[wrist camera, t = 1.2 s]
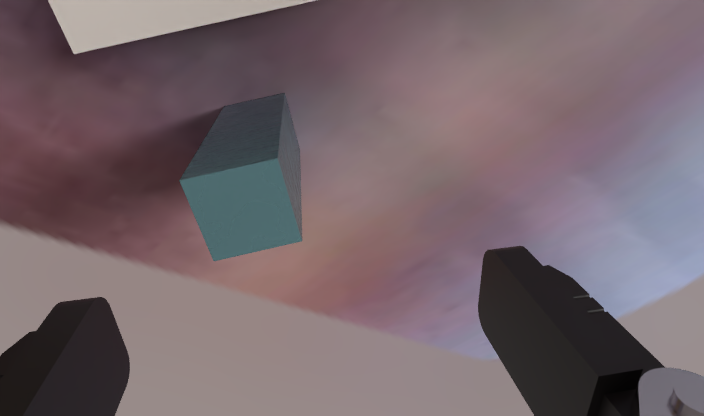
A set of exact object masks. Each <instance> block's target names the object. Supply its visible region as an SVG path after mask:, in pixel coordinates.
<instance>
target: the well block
mask: <svg viewBox="0 0 704 416" xmlns="http://www.w3.org/2000/svg"><path fill="white" fill-rule="evenodd" d="M312 1H316V0H48V2H49V4H50V6H51V8H52V10H53V12H54V14H55V16H56V18H57V20H58V22H59V24H60V26H61V29H62V31H63V33H64V35H65V37H66V39H67V41H68V43H69V45H70V47H71V49H72V51H73V53H74V54H77V53H81V52H86V51H90V50H95V49H100V48H104V47H109V46H113V45H118V44H122V43H127V42H131V41H136V40H140V39H145V38H149V37H154V36H158V35H163V34H167V33H172V32H176V31H181V30H185V29H190V28H194V27H199V26H203V25H208V24H212V23H217V22H221V21H226V20H230V19H235V18H239V17H244V16H248V15H253V14H258V13H262V12H267V11H271V10H276V9H280V8H285V7H289V6H294V5H298V4H303V3H307V2H312Z"/></svg>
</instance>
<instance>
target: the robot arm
mask: <svg viewBox="0 0 704 416" xmlns="http://www.w3.org/2000/svg"><path fill="white" fill-rule="evenodd" d="M478 312H479V319H480V323H481V326H482V329H483V331H484V333H485V335H486V336H487V338H488V340H489V341H490V343H491V345H492V346H493V348H494V350H495V351H496V353H497V355H498V356H499V358H500V360H501V361H502V363H503V364H504V366H505V368H506V369H507V371H508V373H509V374H510V376H511V378H512V379H513V381H514V383H515V384H516V386H517V388H518V389H519V391H520V392H521V394H522V396H523V397H524V399H525V401H526V402H527V404H528V406H529V407H530V409H531V410H532V412H533V414H534V416H704V377H703V376H701V375H698V374H696V373H693V372H689V371H686V370H681V369H676V368H665V367H664V366H663V365H662V364H661V363H660V362H659V361H658V360H657V359H656V358H655V357H654V356H653V355H652V354H651V353H650V352H649V351H648V350H647V349H645V348H644V347H643V346H642V345H641V344H640V343H639V342H638V341H637V340H636V339H635V338H634V337H633V336H632V335H631V334H630V333H629V332H628V331H627V330H626V329H625V328H624V327H623V326H622V325H621V324H620V323H619V322H617V321H616V320H615V319H614V318H613V317H612V316H611V315H610V314H609V313H608V312H604V308H603V307H602V306H601V305H600V304H599V303H598V302H597V301H596V300H595V299H594V298H590V297H589V294H588V293H587V292H586V291H585V290H584V289H583V288H582V287H581V286H580V285H579V284H578V283H577V282H576V281H575V280H574V279H573V278H571V277H570V276H568V275H566V274H564V273H562V272H560V271H559V270H557V269H555V268H553V267H551V266H549V265H547V266H542V265H541V264H540V262H539V261H538V260H537V259H536V258H535V257H534V256H533V255H532V254H531V253H530V252H529V251H528V250H527V249H526V248H525V247H523V246H516V247H508V248H500V249H492V250H487V251H486V252H485V254H484V258H483V265H482V275H481V284H480V293H479V302H478ZM129 371H130V363H129V356H128V353H127V349H126V347H125V344H124V341H123V339H122V336H121V334H120V331H119V329H118V326H117V323H116V321H115V318H114V315H113V313H112V310H111V308H110V305H109V303H108V302H107V300H106V299H105V298H102V297H97V298H89V299H81V300H73V301H66V302H60V303H58V304H57V305H56V306H55V307H54V308H53V309H52V310H51V312H50V313H49V314H48V316H47V317H46V319H45V320H44V321H43V323H42V324H41V325H40V327H39V328H38V330H37V331H33V332H29V333H28V334H27V335H25V336H24V337H23V338H22V339H20V340H19V341H18V342H16V343H15V344H14V345H13V346H12V347H10V348H9V349H8V350H6V351H5V352H4V353H2V355H1V356H0V416H115V413H116V411H117V408H118V406H119V403H120V401H121V398H122V396H123V393H124V391H125V388H126V386H127V383H128V379H129Z"/></svg>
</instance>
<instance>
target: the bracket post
mask: <svg viewBox="0 0 704 416" xmlns="http://www.w3.org/2000/svg"><path fill="white" fill-rule="evenodd" d="M179 181H180V183H181V186H182V188H183V190H184V193H185V195H186V197H187V200H188V202H189V204H190V207H191V209H192V211H193V214H194V216H195V218H196V221H197V223H198V225H199V228H200V230H201V232H202V235H203V237H204V239H205V242H206V244H207V246H208V249H209V251H210V254H211V256H212V258H213V261H217V260H222V259H226V258H230V257H235V256H239V255H243V254H248V253H252V252H257V251H261V250H265V249H270V248H274V247H278V246H283V245H287V244H291V243H296V242H300V241H302V214H301V173H300V148H299V145H298V141H297V137H296V133H295V130H294V126H293V122H292V119H291V115H290V111H289V107H288V104H287V100H286V96H285V93H282V94H277V95H273V96H268V97H264V98H259V99H255V100H250V101H246V102H242V103H237V104H233V105H228V106H224V108H223V109H222V111H221V112H220V114H219V116H218V117H217V119H216V121H215V122H214V124H213V126H212V127H211V129H210V131H209V132H208V134H207V136H206V137H205V139H204V141H203V142H202V144H201V146H200V147H199V149H198V151H197V152H196V154H195V155H194V157H193V159H192V160H191V162H190V164H189V165H188V167H187V169H186V170H185V172H184V174H183V175H182V177H181V179H180V180H179Z"/></svg>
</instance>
